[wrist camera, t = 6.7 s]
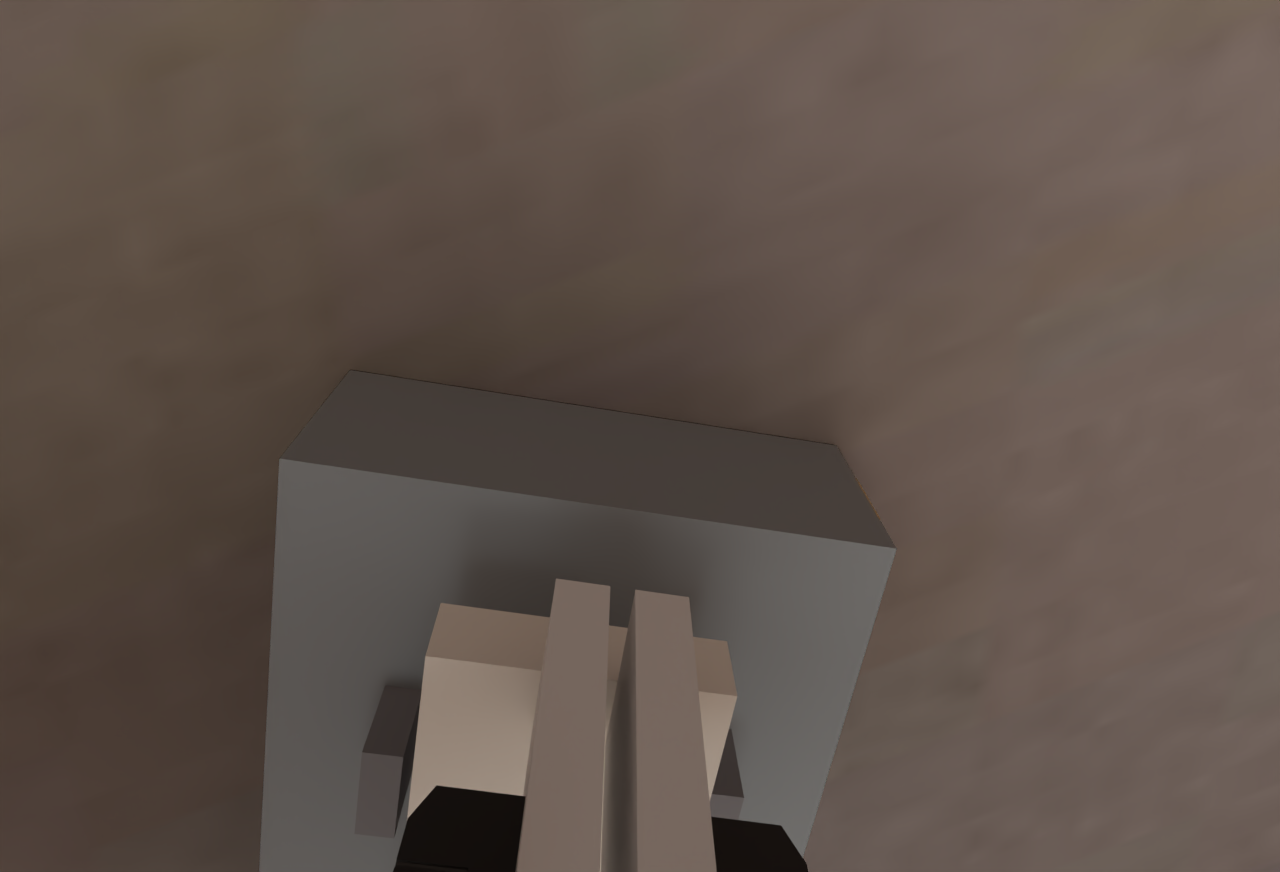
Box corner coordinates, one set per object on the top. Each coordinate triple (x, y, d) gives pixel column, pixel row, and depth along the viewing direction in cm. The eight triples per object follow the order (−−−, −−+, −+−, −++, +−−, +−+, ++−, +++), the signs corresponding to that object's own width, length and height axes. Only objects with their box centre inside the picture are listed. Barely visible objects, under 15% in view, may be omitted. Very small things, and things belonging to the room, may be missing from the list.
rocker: (406, 936, 20) (380, 1053, 17) (450, 569, 16) (425, 655, 14) (634, 959, 20) (637, 1076, 18) (720, 607, 17) (737, 696, 15)
